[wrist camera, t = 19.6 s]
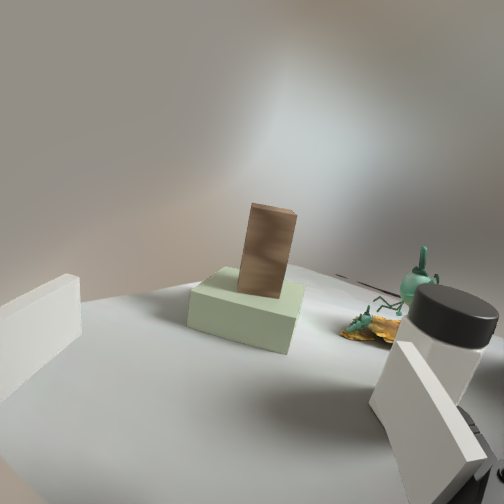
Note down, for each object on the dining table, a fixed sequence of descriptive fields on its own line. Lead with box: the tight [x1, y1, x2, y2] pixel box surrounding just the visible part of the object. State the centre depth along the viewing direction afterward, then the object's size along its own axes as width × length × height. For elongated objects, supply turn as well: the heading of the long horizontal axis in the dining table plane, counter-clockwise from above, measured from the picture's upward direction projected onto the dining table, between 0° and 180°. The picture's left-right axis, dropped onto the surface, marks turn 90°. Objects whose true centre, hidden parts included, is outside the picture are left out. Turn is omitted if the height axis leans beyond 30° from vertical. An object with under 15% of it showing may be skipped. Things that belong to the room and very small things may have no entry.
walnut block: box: [237, 203, 297, 299], centre depth 38 cm, size 5×5×10 cm
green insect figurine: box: [340, 246, 439, 343], centre depth 40 cm, size 10×18×15 cm, turn 82°
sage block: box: [187, 266, 306, 355], centre depth 40 cm, size 12×12×5 cm
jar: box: [369, 283, 499, 428], centre depth 23 cm, size 9×8×12 cm
